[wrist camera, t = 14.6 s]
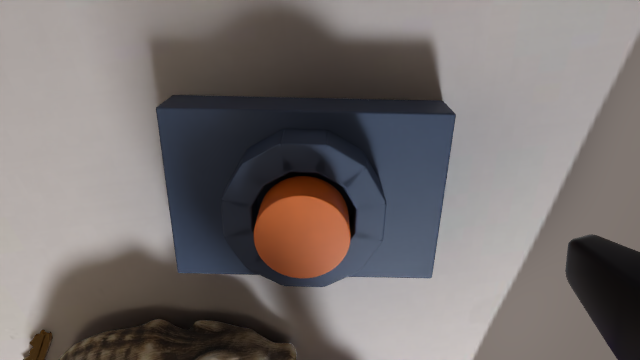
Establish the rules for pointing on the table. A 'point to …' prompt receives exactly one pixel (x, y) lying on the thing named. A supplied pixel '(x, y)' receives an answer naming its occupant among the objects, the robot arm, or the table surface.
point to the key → (40, 346)
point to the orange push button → (302, 227)
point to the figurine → (180, 344)
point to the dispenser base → (305, 160)
